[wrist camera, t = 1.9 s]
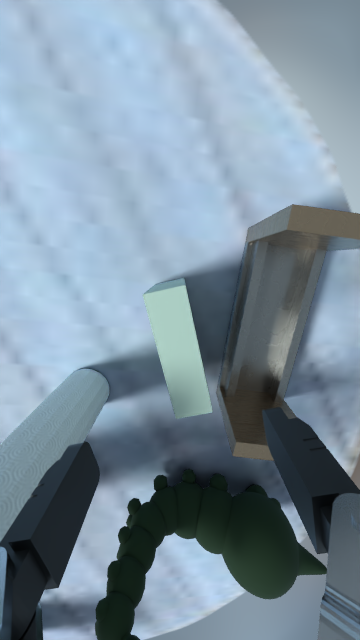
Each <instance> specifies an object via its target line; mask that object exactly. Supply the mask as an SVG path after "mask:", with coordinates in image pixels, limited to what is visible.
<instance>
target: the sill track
mask: <svg viewBox="0 0 360 640" xmlns="http://www.w3.org/2000/svg"><path fill="white" fill-rule="evenodd" d="M348 249H360V214H358V213H351V212H344V211H336V210H329V209H322V208H315V207H308V206H301V205H294V204H292V205H290V206H288V207H287V208H285V209H283V210H281V211H279V212H277V213H275V214H274V215H272V216H270V217H268V218H266V219H264V220H262V221H261V222H259V223H257V224H255V225H253V226H251V227H249V228H248V232H247V237H246V243H245V248H244V253H243V258H242V263H241V268H240V273H239V278H238V284H237V289H236V294H235V299H234V304H233V309H232V314H231V319H230V325H229V330H228V335H227V340H226V345H225V350H224V355H223V360H222V366H221V371H220V376H219V381H218V386H217V391H216V394H217V398H218V402H219V406H220V410H221V413H222V417H223V421H224V425H225V429H226V432H227V436H228V440H229V444H230V448H231V451H232V455H233V456H235V457H244V458H253V459H262V460H271V461H274V460H273V457H272V455H271V453H270V450H269V447H268V444H267V440H266V434H265V428H264V421H263V415H262V410H266V409H271V408H277V407H280V408H282V410H283V411H284V413H285V414H286V416H287V417H288V419H292V418H297V417H296V416H295V414H294V413H293V412H292V410H291V409H290V408H289V406H288V405H287V404H286V402H285V401H284V396H285V393H286V389H287V386H288V382H289V379H290V376H291V372H292V369H293V365H294V362H295V358H296V355H297V351H298V348H299V344H300V341H301V337H302V334H303V330H304V327H305V324H306V320H307V317H308V313H309V310H310V306H311V303H312V299H313V296H314V292H315V289H316V285H317V282H318V278H319V275H320V271H321V268H322V265H323V261H324V258H325V254H326V251H336V250H348Z"/></svg>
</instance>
